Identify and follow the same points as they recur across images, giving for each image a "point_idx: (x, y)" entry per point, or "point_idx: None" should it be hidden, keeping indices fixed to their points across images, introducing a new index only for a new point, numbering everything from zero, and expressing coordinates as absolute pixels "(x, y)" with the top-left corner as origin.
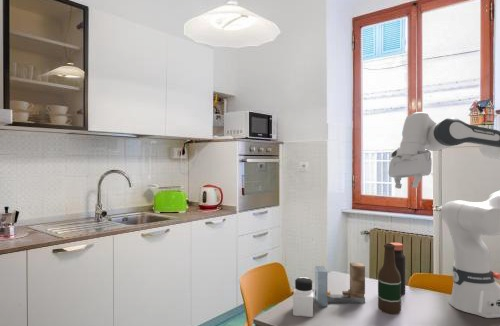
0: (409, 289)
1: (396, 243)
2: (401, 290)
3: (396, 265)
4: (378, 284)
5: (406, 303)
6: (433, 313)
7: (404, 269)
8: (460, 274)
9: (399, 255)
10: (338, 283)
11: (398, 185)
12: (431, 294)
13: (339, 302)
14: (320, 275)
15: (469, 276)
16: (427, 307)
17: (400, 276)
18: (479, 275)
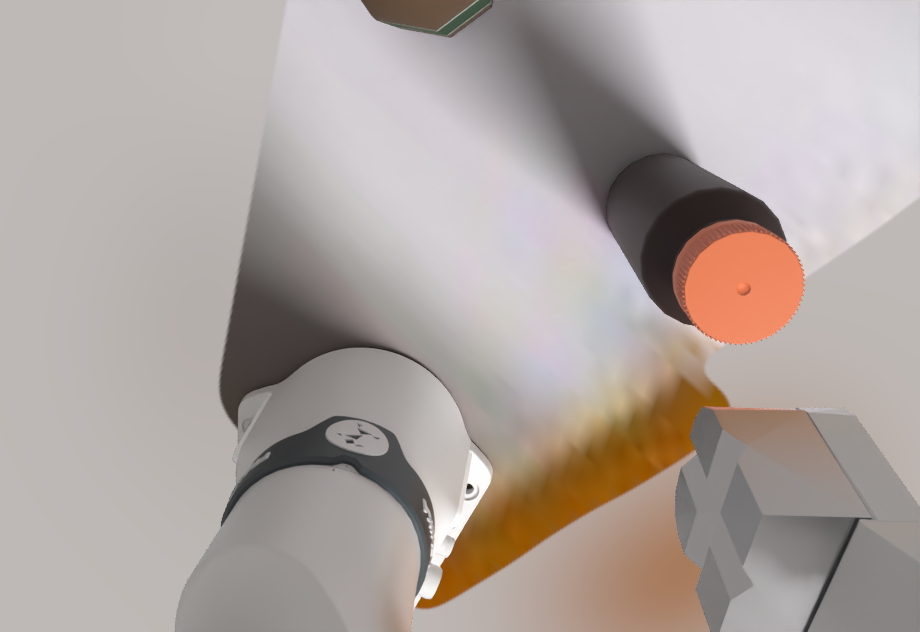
0: None
1: (755, 300)
2: (609, 207)
3: (648, 205)
4: None
5: (493, 143)
6: (345, 192)
7: (632, 266)
8: (309, 446)
9: (663, 253)
10: None
11: (734, 490)
12: (559, 377)
13: None
14: None
15: (261, 462)
16: (416, 219)
17: (368, 10)
18: (227, 506)
